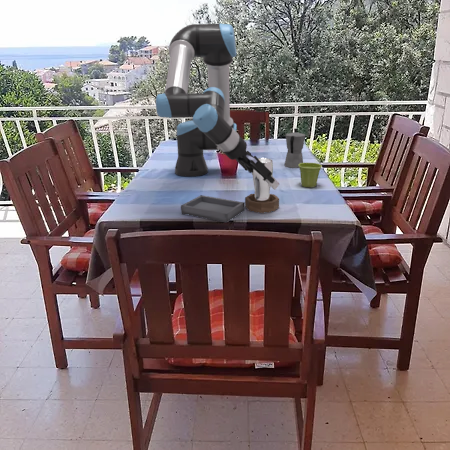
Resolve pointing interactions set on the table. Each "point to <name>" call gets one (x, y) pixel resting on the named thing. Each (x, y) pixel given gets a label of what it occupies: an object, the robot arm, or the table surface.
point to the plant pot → (309, 174)
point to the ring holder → (262, 204)
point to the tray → (213, 208)
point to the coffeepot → (294, 149)
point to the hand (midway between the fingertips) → (270, 183)
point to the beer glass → (262, 183)
